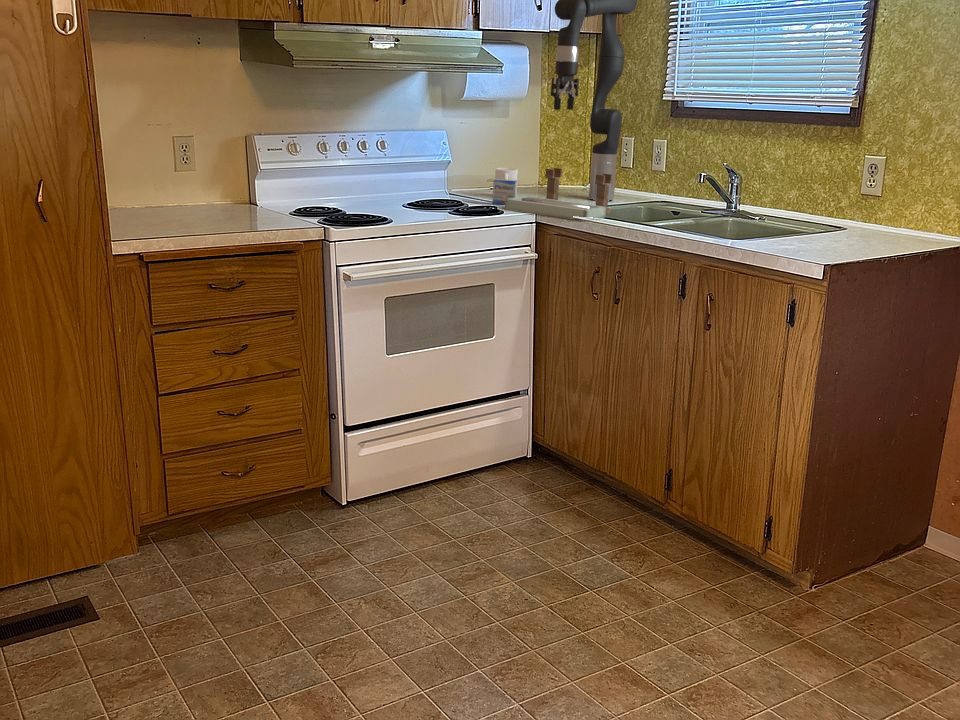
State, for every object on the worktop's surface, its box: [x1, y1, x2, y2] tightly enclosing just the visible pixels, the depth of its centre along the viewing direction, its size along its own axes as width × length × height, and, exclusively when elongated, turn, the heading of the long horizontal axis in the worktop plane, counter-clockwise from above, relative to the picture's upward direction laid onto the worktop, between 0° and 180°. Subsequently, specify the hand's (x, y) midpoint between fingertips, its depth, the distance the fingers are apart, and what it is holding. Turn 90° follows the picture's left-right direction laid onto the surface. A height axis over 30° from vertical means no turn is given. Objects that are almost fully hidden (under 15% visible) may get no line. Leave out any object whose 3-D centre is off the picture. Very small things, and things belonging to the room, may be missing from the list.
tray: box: [504, 195, 607, 220], centre depth 311 cm, size 13×32×4 cm, turn 54°
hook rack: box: [544, 167, 612, 215], centre depth 321 cm, size 6×24×13 cm, turn 53°
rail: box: [521, 198, 591, 210], centre depth 311 cm, size 3×26×3 cm, turn 54°
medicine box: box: [491, 178, 518, 206], centre depth 326 cm, size 8×4×9 cm, turn 83°
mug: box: [494, 167, 519, 195], centre depth 343 cm, size 12×8×10 cm
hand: (563, 109), depth 319 cm, fingers open, 8 cm apart
